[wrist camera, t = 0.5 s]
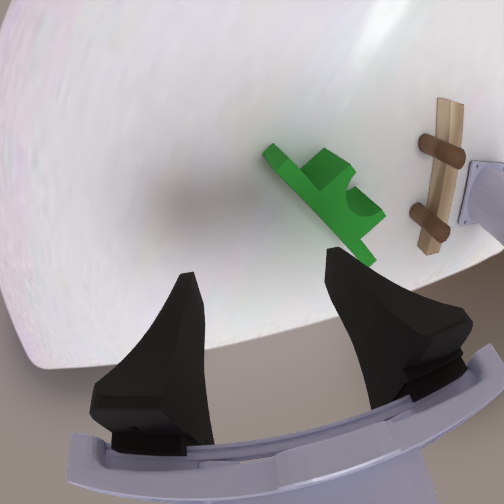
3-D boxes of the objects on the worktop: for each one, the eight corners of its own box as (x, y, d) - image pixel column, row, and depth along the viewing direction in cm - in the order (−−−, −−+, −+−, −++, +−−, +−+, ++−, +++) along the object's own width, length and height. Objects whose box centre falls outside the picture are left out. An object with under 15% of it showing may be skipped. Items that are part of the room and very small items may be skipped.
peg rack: (450, 100, 17) (485, 111, 13) (429, 243, 26) (452, 267, 22) (420, 94, 16) (456, 102, 13) (401, 249, 26) (425, 275, 22)
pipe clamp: (373, 212, 23) (400, 239, 19) (344, 238, 24) (366, 269, 20) (298, 118, 17) (322, 128, 14) (260, 152, 19) (275, 172, 15)
